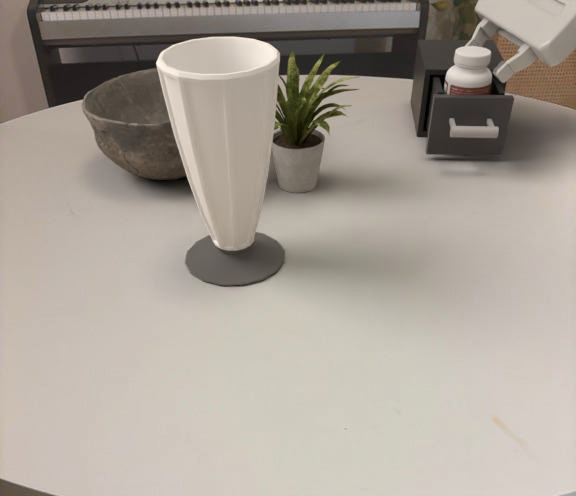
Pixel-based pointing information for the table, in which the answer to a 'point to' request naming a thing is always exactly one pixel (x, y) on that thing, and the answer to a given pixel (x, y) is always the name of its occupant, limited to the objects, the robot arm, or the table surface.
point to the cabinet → (438, 72)
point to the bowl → (135, 125)
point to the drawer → (466, 120)
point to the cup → (225, 149)
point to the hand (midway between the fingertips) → (481, 66)
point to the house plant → (302, 127)
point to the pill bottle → (469, 72)
